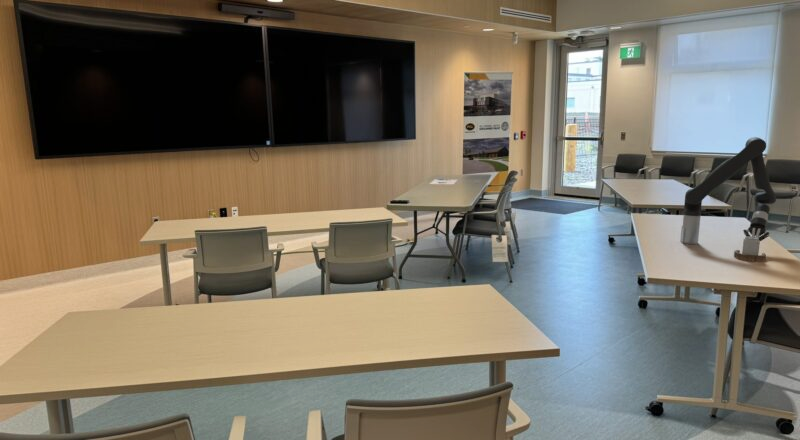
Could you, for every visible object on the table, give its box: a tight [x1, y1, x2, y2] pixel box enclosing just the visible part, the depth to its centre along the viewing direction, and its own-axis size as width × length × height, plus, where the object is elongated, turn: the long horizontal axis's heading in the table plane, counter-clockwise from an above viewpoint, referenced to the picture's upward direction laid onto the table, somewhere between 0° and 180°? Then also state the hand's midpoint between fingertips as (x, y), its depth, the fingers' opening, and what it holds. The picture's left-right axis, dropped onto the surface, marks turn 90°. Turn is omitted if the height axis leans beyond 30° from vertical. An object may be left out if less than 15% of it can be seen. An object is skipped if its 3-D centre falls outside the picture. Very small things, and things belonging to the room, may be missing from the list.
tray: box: [733, 249, 767, 262], centre depth 296 cm, size 15×13×3 cm
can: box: [741, 235, 761, 256], centre depth 294 cm, size 8×8×12 cm
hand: (753, 245), depth 303 cm, fingers closed
